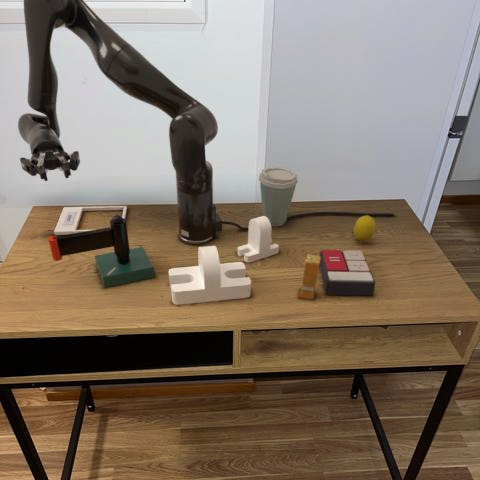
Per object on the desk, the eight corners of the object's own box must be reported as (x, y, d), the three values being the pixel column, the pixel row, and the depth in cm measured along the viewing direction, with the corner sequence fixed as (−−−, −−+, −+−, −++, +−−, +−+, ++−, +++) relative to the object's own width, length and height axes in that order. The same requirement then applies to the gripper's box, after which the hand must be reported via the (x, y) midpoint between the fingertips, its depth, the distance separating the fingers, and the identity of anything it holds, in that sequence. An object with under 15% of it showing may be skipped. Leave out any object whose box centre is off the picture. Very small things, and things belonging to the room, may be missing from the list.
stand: (143, 256, 127) (141, 239, 124) (154, 277, 120) (152, 259, 117) (96, 266, 123) (93, 248, 120) (104, 287, 116) (101, 269, 113)
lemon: (349, 244, 134) (354, 217, 129) (354, 235, 138) (359, 209, 133) (370, 249, 133) (376, 222, 128) (374, 239, 137) (379, 213, 132)
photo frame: (63, 206, 145) (126, 205, 146) (64, 210, 145) (126, 208, 147) (53, 231, 133) (121, 229, 135) (54, 234, 134) (122, 233, 136)
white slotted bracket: (251, 297, 114) (253, 257, 108) (173, 305, 111) (170, 264, 105) (242, 274, 122) (244, 235, 115) (169, 281, 119) (165, 241, 112)
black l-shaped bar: (128, 247, 120) (123, 210, 114) (131, 255, 117) (126, 217, 111) (53, 261, 114) (44, 223, 108) (55, 269, 112) (46, 231, 106)
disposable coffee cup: (274, 209, 149) (278, 160, 140) (301, 222, 143) (307, 172, 134) (248, 220, 143) (251, 170, 134) (275, 234, 137) (279, 183, 128)
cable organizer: (279, 252, 130) (282, 218, 124) (247, 263, 126) (248, 227, 119) (267, 243, 133) (270, 209, 127) (236, 253, 129) (237, 218, 123)
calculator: (363, 249, 125) (376, 280, 113) (360, 263, 128) (373, 295, 116) (319, 248, 125) (328, 279, 113) (317, 262, 128) (326, 294, 116)
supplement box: (314, 300, 114) (319, 263, 108) (299, 298, 115) (304, 261, 108) (315, 292, 117) (321, 255, 110) (301, 290, 117) (305, 253, 111)
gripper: (12, 137, 119) (18, 163, 107) (73, 130, 123) (85, 155, 111) (20, 167, 124) (26, 195, 111) (78, 160, 128) (91, 186, 116)
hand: (56, 175), depth 111 cm, fingers open, 4 cm apart
